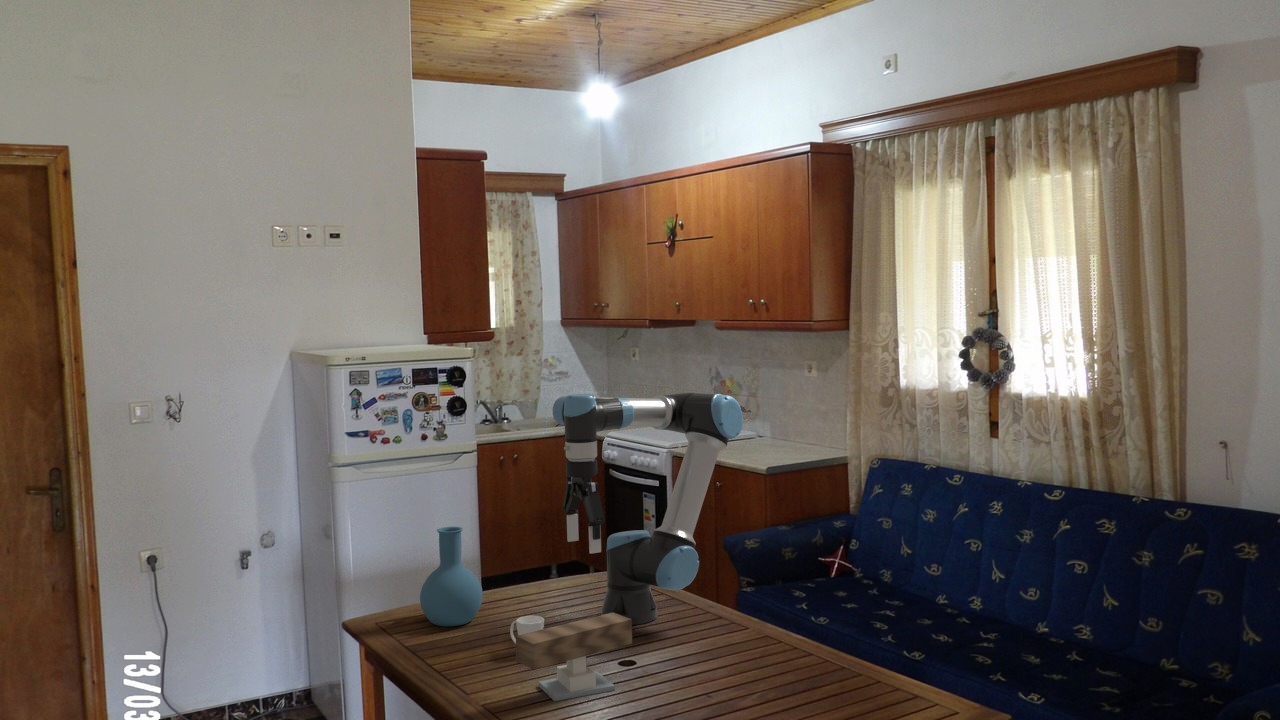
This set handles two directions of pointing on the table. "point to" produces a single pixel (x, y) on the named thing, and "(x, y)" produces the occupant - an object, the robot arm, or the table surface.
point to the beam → (573, 640)
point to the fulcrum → (575, 681)
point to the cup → (527, 625)
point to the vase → (450, 585)
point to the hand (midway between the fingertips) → (583, 546)
